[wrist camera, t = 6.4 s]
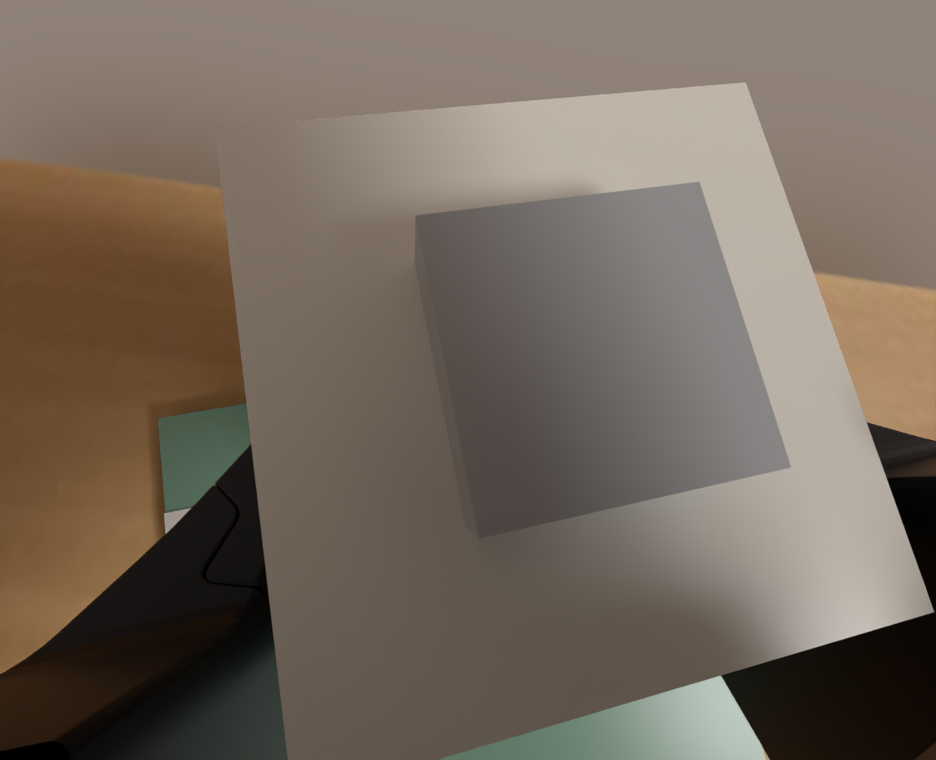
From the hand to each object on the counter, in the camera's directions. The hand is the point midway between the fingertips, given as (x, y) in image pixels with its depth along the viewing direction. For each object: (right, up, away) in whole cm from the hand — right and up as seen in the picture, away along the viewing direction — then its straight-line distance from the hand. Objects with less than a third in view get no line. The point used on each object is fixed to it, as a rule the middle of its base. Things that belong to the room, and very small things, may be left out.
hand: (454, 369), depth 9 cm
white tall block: (-1, -3, +7) cm, 7 cm away
